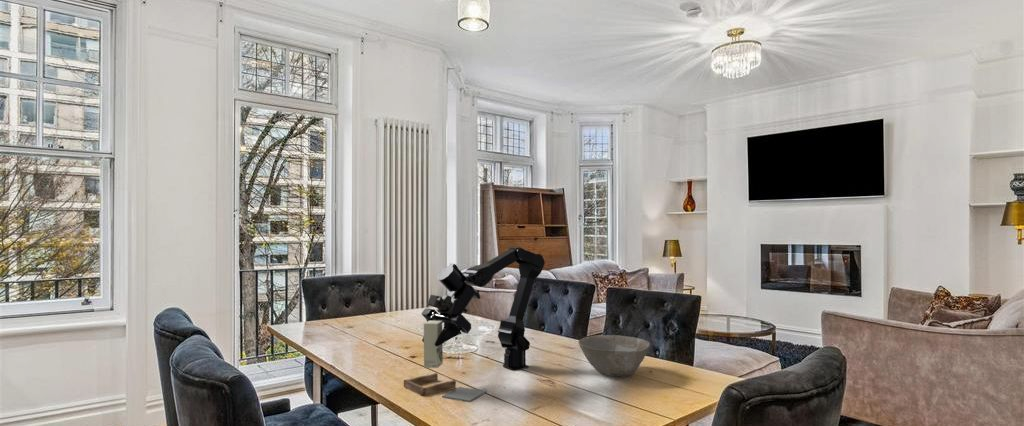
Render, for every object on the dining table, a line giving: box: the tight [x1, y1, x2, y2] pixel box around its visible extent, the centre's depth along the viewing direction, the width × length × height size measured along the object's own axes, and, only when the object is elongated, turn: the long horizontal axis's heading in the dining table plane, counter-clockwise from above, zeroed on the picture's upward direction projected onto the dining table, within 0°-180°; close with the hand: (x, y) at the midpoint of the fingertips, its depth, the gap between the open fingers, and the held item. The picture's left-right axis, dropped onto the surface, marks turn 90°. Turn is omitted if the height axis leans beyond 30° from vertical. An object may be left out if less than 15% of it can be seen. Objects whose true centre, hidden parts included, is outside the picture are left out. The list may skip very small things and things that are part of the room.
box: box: [423, 321, 444, 369], centre depth 153 cm, size 5×4×13 cm
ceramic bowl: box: [577, 334, 651, 377], centre depth 166 cm, size 22×23×10 cm
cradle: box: [403, 372, 457, 397], centre depth 154 cm, size 11×11×2 cm
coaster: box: [441, 386, 487, 403], centre depth 147 cm, size 9×9×1 cm
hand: (429, 343), depth 152 cm, fingers closed on box, 6 cm apart
